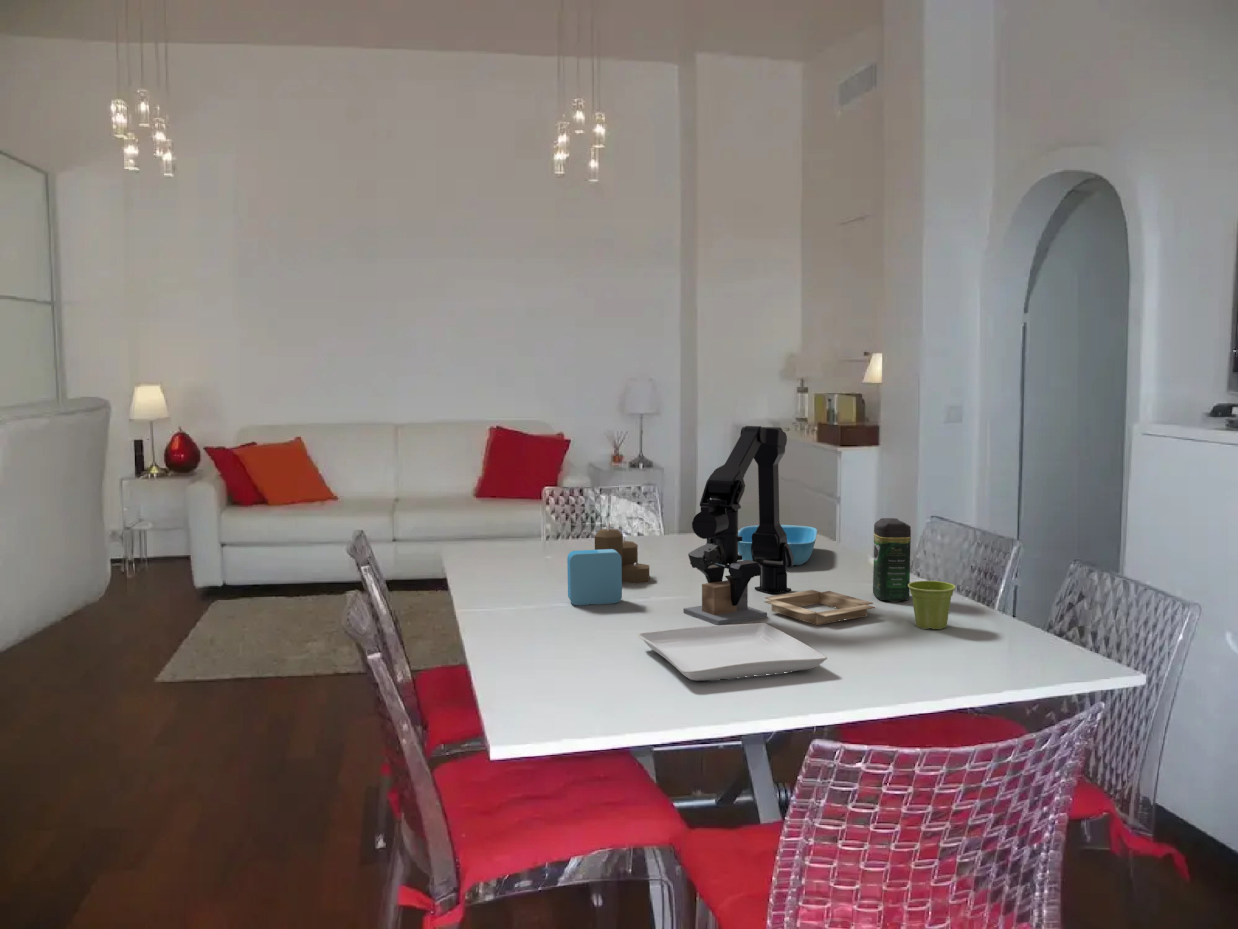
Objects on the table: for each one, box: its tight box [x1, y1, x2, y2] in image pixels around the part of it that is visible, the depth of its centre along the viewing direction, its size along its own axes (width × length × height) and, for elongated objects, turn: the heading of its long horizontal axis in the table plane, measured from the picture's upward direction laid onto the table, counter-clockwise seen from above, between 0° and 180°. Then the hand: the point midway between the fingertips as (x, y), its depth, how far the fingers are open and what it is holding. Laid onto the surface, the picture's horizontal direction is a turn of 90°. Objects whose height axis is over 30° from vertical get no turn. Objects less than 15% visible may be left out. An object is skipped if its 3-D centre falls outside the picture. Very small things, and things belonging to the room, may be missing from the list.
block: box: [701, 579, 749, 615], centre depth 223 cm, size 4×9×6 cm, turn 121°
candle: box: [594, 521, 650, 584], centre depth 261 cm, size 14×14×15 cm
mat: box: [683, 605, 768, 626], centre depth 224 cm, size 13×13×1 cm
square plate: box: [637, 622, 828, 681], centre depth 189 cm, size 27×27×4 cm
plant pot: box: [908, 580, 956, 630], centre depth 212 cm, size 9×9×9 cm
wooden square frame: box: [763, 589, 876, 626], centre depth 224 cm, size 20×19×2 cm
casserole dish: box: [738, 524, 818, 566], centre depth 289 cm, size 37×22×7 cm, turn 168°
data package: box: [566, 549, 623, 606], centre depth 236 cm, size 12×4×12 cm, turn 101°
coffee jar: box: [872, 517, 912, 603], centre depth 237 cm, size 10×8×19 cm
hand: (724, 602), depth 223 cm, fingers open, 7 cm apart
